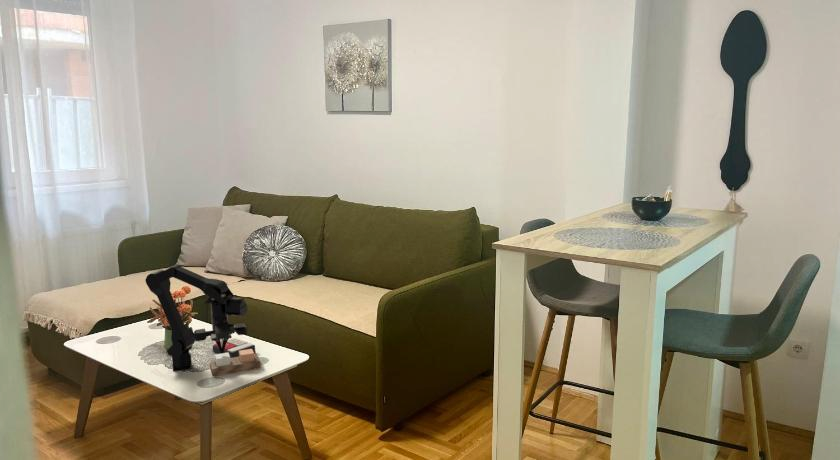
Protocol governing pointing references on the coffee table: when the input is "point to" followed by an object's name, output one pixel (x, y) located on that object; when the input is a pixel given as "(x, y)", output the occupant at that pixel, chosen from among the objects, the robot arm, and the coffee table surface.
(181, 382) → the coffee table surface
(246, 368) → the key panel
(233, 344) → the calculator
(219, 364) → the cream key
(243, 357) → the tan wooden block
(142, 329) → the coffee table surface
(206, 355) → the coffee table surface
